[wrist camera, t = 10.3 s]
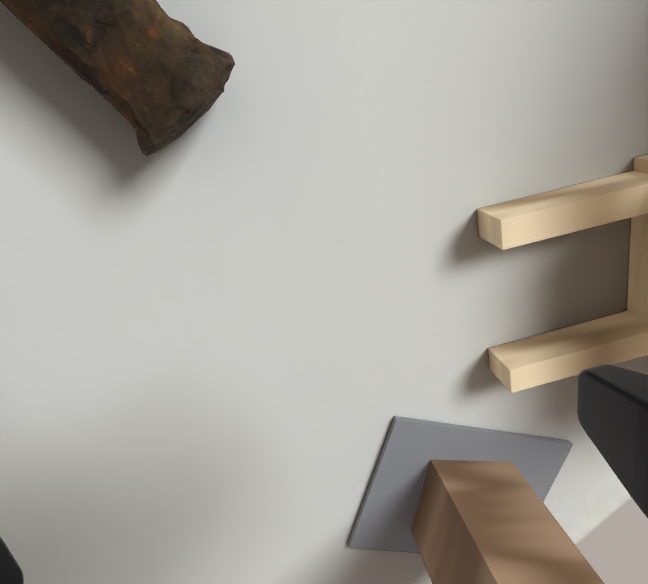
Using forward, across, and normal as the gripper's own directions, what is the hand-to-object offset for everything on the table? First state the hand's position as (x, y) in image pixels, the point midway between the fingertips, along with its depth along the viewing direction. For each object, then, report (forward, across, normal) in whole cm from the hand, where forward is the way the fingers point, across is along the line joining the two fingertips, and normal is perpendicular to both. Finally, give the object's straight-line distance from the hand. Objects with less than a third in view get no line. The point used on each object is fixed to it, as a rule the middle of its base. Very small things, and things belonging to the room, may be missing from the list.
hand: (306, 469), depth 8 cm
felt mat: (+13, -7, +16) cm, 21 cm away
